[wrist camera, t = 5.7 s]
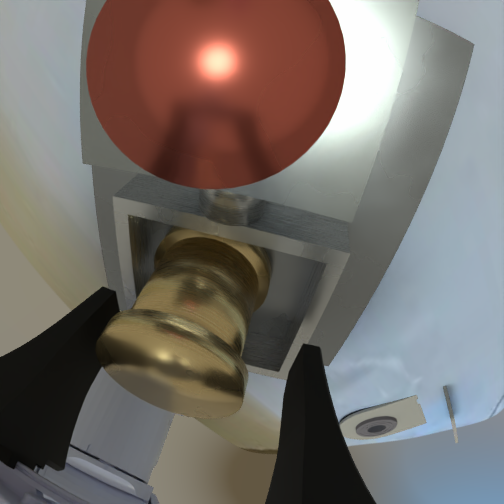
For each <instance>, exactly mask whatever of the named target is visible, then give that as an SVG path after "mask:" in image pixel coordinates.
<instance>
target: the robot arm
mask: <svg viewBox="0 0 504 504" xmlns="http://www.w3.org/2000/svg"><path fill="white" fill-rule="evenodd" d="M119 312H120V309H119V304H118V299H117V294H116V291H114V290H111V289H108V288H105V287H102V288H100V289H99V290H98V291H96V292H95V293H94V294H92V295H91V296H90V297H89V298H87V299H86V300H85V301H84V302H82V303H81V304H80V305H79V306H77V307H76V308H75V309H73V310H72V311H71V312H70V313H69V314H67V315H66V316H64V317H63V318H62V319H61V320H59V321H58V322H57V323H55V324H54V325H53V326H51V327H50V328H48V329H47V330H45V331H44V332H43V333H41V334H40V335H38V336H37V337H35V338H34V339H32V340H30V341H29V342H27V343H26V344H24V345H22V346H21V347H19V348H17V349H15V350H13V351H11V352H10V353H8V354H6V355H4V356H2V357H0V504H159V502H158V499H157V497H156V495H155V494H153V493H152V491H153V487H152V486H149V485H147V484H148V481H149V479H150V475H151V473H152V470H153V468H154V467H155V466H156V464H157V462H158V459H159V456H160V454H161V451H162V448H163V445H164V442H165V439H166V437H167V434H168V431H169V428H170V425H171V423H172V419H173V417H174V414H176V413H172V412H169V411H166V410H164V409H161V408H158V407H156V406H154V405H152V404H149V403H147V402H145V401H144V400H142V399H140V398H138V397H136V396H135V395H133V394H132V393H130V392H129V391H127V390H126V389H124V388H123V387H122V386H120V385H119V384H118V383H117V382H116V381H115V380H114V379H113V378H112V377H111V376H110V375H109V374H108V373H107V372H106V371H105V370H104V368H103V367H102V365H101V364H100V362H99V360H98V358H97V355H96V351H95V346H96V343H97V340H98V339H99V337H100V335H101V334H102V332H103V330H104V329H105V327H106V325H107V324H108V322H109V321H110V319H111V318H112V317H113V316H114V315H115V314H117V313H119ZM178 415H179V414H178ZM181 416H184V415H181ZM265 504H376V502H375V501H374V499H373V497H372V496H371V494H370V492H369V490H368V489H367V487H366V485H365V483H364V481H363V479H362V477H361V475H360V473H359V471H358V470H357V468H356V466H355V463H354V461H353V459H352V457H351V454H350V452H349V450H348V447H347V445H346V442H345V440H344V437H343V434H342V431H341V429H340V425H339V422H338V419H337V416H336V413H335V410H334V406H333V402H332V399H331V395H330V391H329V387H328V383H327V378H326V374H325V369H324V364H323V358H322V352H321V348H320V347H319V346H314V345H310V344H305V343H303V344H302V346H301V348H300V350H299V352H298V354H297V356H296V358H295V360H294V362H293V364H292V366H291V368H290V370H289V372H288V377H287V382H286V387H285V392H284V398H283V408H282V418H281V428H280V438H279V447H278V454H277V459H276V463H275V468H274V472H273V476H272V480H271V484H270V488H269V492H268V495H267V499H266V502H265Z"/></svg>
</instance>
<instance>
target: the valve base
mask: <svg viewBox="0 0 504 504" xmlns="http://www.w3.org/2000/svg"><path fill="white" fill-rule="evenodd" d="M418 4H419V0H86V8H85V16H84V25H83V36H82V50H81V70H80V124H81V145H82V159H83V164H89V165H92V174H93V185H94V195H95V204H96V213H97V220H98V228H99V235H100V241H101V248H102V254H103V259H104V265H105V271H106V276H107V281H108V286H109V289H111V290H114V291H116V294H117V299H118V304H119V309H120V310H121V311H124V310H129V309H131V308H132V306H133V304H134V303H135V301H136V299H137V298H138V296H139V294H140V293H141V291H142V290H143V288H144V286H145V285H146V283H147V281H148V280H149V278H150V277H151V275H152V273H153V272H154V270H155V268H154V257H155V253H156V250H157V248H158V246H159V244H160V243H161V242H162V240H163V239H164V237H165V236H166V234H167V233H168V232H169V230H170V229H171V228H172V227H173V226H179V227H183V228H187V229H191V230H195V231H199V232H203V233H207V234H211V235H215V236H219V237H223V238H227V239H232V240H236V241H240V242H244V243H248V244H252V245H256V246H260V247H264V248H265V250H266V251H267V253H268V256H269V258H270V261H271V267H272V275H271V281H270V285H269V290H268V294H267V297H266V299H265V301H264V303H263V304H262V305H261V307H260V308H259V309H257V310H256V311H255V312H253V314H252V317H251V321H250V325H249V329H248V333H247V337H246V341H245V345H244V348H243V352H242V356H241V358H242V360H243V361H244V363H245V365H246V368H247V370H248V371H249V372H253V373H257V374H261V375H265V376H270V377H274V378H279V379H284V380H287V377H288V372H289V370H290V368H291V366H292V364H293V362H294V360H295V358H296V356H297V354H298V352H299V350H300V348H301V346H302V344H303V343H305V344H310V345H314V346H319V347H320V348H321V352H322V358H323V364H324V365H325V366H329V365H330V363H331V362H332V360H333V359H334V357H335V356H336V354H337V353H338V351H339V350H340V348H341V347H342V345H343V343H344V342H345V340H346V339H347V337H348V336H349V334H350V332H351V331H352V329H353V328H354V326H355V324H356V323H357V321H358V319H359V318H360V316H361V314H362V313H363V311H364V309H365V308H366V306H367V304H368V303H369V301H370V299H371V297H372V296H373V294H374V292H375V290H376V289H377V287H378V285H379V283H380V281H381V280H382V278H383V276H384V274H385V272H386V270H387V269H388V267H389V265H390V263H391V261H392V259H393V257H394V255H395V253H396V251H397V249H398V247H399V245H400V243H401V241H402V239H403V237H404V235H405V233H406V231H407V229H408V227H409V225H410V223H411V221H412V219H413V217H414V214H415V212H416V210H417V208H418V206H419V204H420V201H421V199H422V197H423V195H424V192H425V190H426V188H427V185H428V183H429V181H430V178H431V176H432V173H433V171H434V168H435V166H436V164H437V161H438V158H439V156H440V153H441V151H442V148H443V145H444V143H445V140H446V137H447V135H448V132H449V129H450V126H451V123H452V120H453V117H454V114H455V111H456V108H457V105H458V102H459V99H460V96H461V92H462V89H463V86H464V82H465V79H466V75H467V71H468V68H469V64H470V60H471V56H472V52H473V48H474V44H473V43H471V42H469V41H468V40H466V39H464V38H462V37H460V36H458V35H456V34H454V33H453V32H451V31H449V30H447V29H445V28H442V27H440V26H438V25H436V24H434V23H432V22H430V21H427V20H425V19H423V18H421V17H418V16H416V13H417V9H418Z"/></svg>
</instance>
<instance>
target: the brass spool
mask: <svg viewBox="0 0 504 504" xmlns="http://www.w3.org/2000/svg"><path fill="white" fill-rule="evenodd" d="M154 268H155V270H154V272H153V273H152V275H151V277H150V278H149V280H148V281H147V283H146V285H145V286H144V288H143V290H142V291H141V293H140V294H139V296H138V298H137V299H136V301H135V303H134V304H133V306H132V308H131V309H129V310H124V311H121V312H119V313H117V314H115V315H114V316H113V317H112V318H111V319H110V321H109V322H108V324H107V325H106V327H105V329H104V330H103V332H102V334H101V335H100V337H99V339H98V340H97V343H96V346H95V351H96V355H97V358H98V360H99V362H100V364H101V365H102V367H103V368H104V370H105V371H106V372H107V373H108V374H109V375H110V376H111V377H112V378H113V379H114V380H115V381H116V382H117V383H118V384H119V385H120V386H122V387H123V388H124V389H126V390H127V391H129V392H130V393H132V394H133V395H135V396H136V397H138V398H140V399H142V400H144V401H145V402H147V403H149V404H152V405H154V406H156V407H158V408H161V409H164V410H166V411H169V412H172V413H176V414H179V415H184V416H188V417H194V418H204V419H216V418H223V417H227V416H230V415H233V414H234V413H236V412H237V411H238V410H239V409H240V408H241V406H242V403H243V399H244V395H245V390H246V386H247V382H248V370H247V368H246V365H245V363H244V361H243V360H242V358H241V356H242V352H243V348H244V345H245V341H246V337H247V333H248V329H249V325H250V321H251V317H252V314H253V312H255V311H256V310H257V309H259V308H260V307H261V305H262V304H263V303H264V301H265V299H266V297H267V294H268V290H269V285H270V281H271V275H272V267H271V261H270V258H269V256H268V253H267V251H266V250H265V248H264V247H260V246H256V245H252V244H248V243H244V242H240V241H236V240H232V239H227V238H223V237H219V236H215V235H211V234H207V233H203V232H199V231H195V230H191V229H187V228H183V227H179V226H173V227H172V228H171V229H170V230H169V232H168V233H167V234H166V236H165V237H164V239H163V240H162V242H161V243H160V244H159V246H158V248H157V250H156V253H155V257H154Z"/></svg>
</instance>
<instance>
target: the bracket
mask: <svg viewBox="0 0 504 504" xmlns="http://www.w3.org/2000/svg"><path fill="white" fill-rule="evenodd" d="M443 389H444V393H445V397H446V401H447V405H448V410H449V414H450V418H451V423H452V427H453V432H454V437H455V442H456V443H458V437H457V431H456V425H455V420H454V415H453V411H452V407H451V403H450V399H449V395H448V391H447V388H446V386H444V387H443ZM417 399H418V397H417V395H415V396H411V397H408V398H404V399H400V400H397V401H393V402H389V403H385V404H381V405H377V406H374V407H371V408H368V409H364V410H361V411H358V412H356V413H354V414H351V415H349V416H348V417H346V418H345V419H343V420H342V421H341V422H340V424H339V425H340V429H341V431H342V434H343V436H344V437H347V438H350V439H359V440H364V439H375V438H380V437H384V436H388V435H391V434H394V433H398V432H401V431H404V430H407V429H410V428H413V427H416V426H419V425H422V424H425V423H427V422H426V419H425V417H424V414H423V411H422V408H421V406H420V404H418V403H417V401H416V400H417Z"/></svg>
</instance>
